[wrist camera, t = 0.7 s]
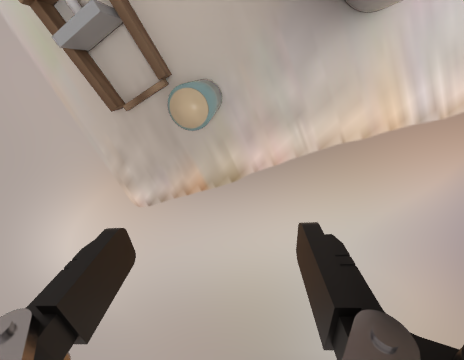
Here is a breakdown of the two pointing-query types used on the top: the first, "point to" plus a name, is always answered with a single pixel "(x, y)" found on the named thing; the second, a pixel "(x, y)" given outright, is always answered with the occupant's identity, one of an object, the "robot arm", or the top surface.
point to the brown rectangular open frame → (43, 7)
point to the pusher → (87, 25)
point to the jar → (194, 103)
